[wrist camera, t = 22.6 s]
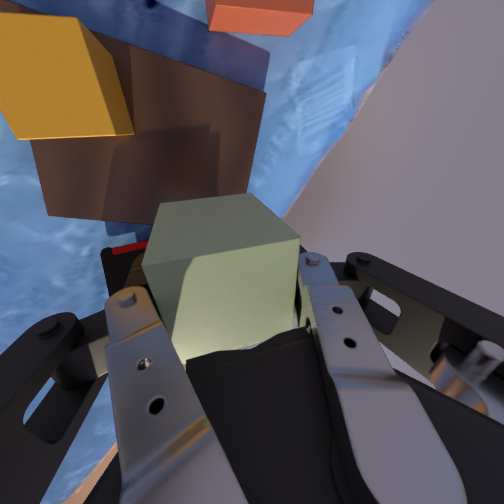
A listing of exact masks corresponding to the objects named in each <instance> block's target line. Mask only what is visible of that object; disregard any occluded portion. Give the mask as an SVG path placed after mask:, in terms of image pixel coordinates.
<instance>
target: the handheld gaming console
mask: <svg viewBox="0 0 504 504" xmlns="http://www.w3.org/2000/svg"><path fill="white" fill-rule="evenodd" d="M148 241H149V240H147V241H143V242H138V243H133V244H129V245H124V246H119V247H115V248H110V247H107V248H104V249H103V250H102V251H101V253H100V256H101V260H102V265H103V269H104V274H105V278H106V283H107V288H108V292H109V297H111V296H112V295H113V294H115V293H116V292H118V291H120V290H122V289H123V288H124V285H125V283H126V280H127V277H128V275H129V273H130V269H131V268H132V267H131V266H132V264H133V261H134V260H135V259H136V258H137V257H138V256H139V255H140V254H144V253H145V251H146V248H147V245H148Z"/></svg>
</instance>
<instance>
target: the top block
mask: <svg viewBox="0 0 504 504" xmlns="http://www.w3.org/2000/svg"><path fill="white" fill-rule="evenodd" d="M0 110H1V112H2V113H3V115H4V117H5V119H6V120H7V122H8V124H9V126H10V128H11V129H12V131H13V133H14V135H15V137H16V138H17V139H18V140H31V139H53V138H75V137H97V136H118V135H134V134H135V133H134V129H133V126H132V123H131V119H130V116H129V112H128V109H127V105H126V102H125V99H124V95H123V92H122V88H121V85H120V81H119V78H118V74H117V71H116V68H115V64H114V61H113V57H112V55H111V54H110V53H109V52H108V51H107V50H106V48H105V47H104V46H103V45H102V44H101V43H100V42H99V41H98V40H97V39H96V37H95V36H94V35H93V34H92V33H91V32H90V31H89V30H88V29H87V28H86V27H85V25H84V24H83V23H82V22H81V21H80V20H79V19H78V18H77V17H70V16H56V15H42V14H28V13H13V12H0Z"/></svg>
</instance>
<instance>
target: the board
mask: <svg viewBox="0 0 504 504" xmlns="http://www.w3.org/2000/svg"><path fill="white" fill-rule="evenodd" d="M0 12H13V13H28V14H42V15H48V14H45V13H42V12H40V11H37V10H34V9H31V8H29V7H26V6H23V5H20V4H17V3H15V2H12V1H9V0H0ZM88 30H89V31H90V32H91V33H92V34H93V35H94V36H95V37H96V39H97V40H98V41H99V42H100V43H101V44H102V45H103V46H104V47H105V48H106V50H107V51H108V52H109V53H110V54H111V55H112V57H113V61H114V64H115V68H116V71H117V74H118V78H119V81H120V85H121V88H122V92H123V95H124V99H125V102H126V105H127V109H128V112H129V116H130V119H131V123H132V126H133V129H134V133H135V134H134V135H118V136H97V137H75V138H53V139H31V140H30V142H31V146H32V150H33V154H34V159H35V163H36V167H37V171H38V175H39V180H40V184H41V188H42V192H43V196H44V200H45V205H46V209H47V213H48V216H55V217H67V218H78V219H89V220H101V221H112V222H123V223H135V224H146V225H154V222H155V218H156V215H157V212H158V209H159V205H160V204H161V203H167V202H176V201H185V200H193V199H202V198H210V197H219V196H228V195H236V194H245V193H246V192H247V187H248V182H249V177H250V172H251V167H252V163H253V158H254V153H255V148H256V143H257V138H258V133H259V128H260V123H261V118H262V113H263V108H264V103H265V98H266V93H265V92H262V91H260V90H257V89H254V88H251V87H248V86H246V85H243V84H240V83H237V82H234V81H232V80H229V79H226V78H223V77H221V76H218V75H215V74H212V73H209V72H207V71H204V70H201V69H198V68H196V67H193V66H190V65H187V64H184V63H182V62H179V61H176V60H173V59H170V58H168V57H165V56H162V55H159V54H157V53H154V52H151V51H148V50H145V49H143V48H140V47H137V46H134V45H132V44H129V43H126V42H123V41H120V40H118V39H115V38H112V37H109V36H106V35H104V34H101V33H98V32H95V31H93V30H90V29H88Z"/></svg>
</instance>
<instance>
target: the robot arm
mask: <svg viewBox="0 0 504 504" xmlns="http://www.w3.org/2000/svg"><path fill="white" fill-rule="evenodd" d="M144 254H145V253H144ZM144 254H140V255H139V256H138V257H137V258H136V259H135V260H134V261H133V264H132V266H131V267H132V268H131V269H130V273H129V275H128V277H127V280H126V283H125V285H124V288H123V289H122V290H120V291H118V292H116V293H115V294H113V295H112V296H111V297H110V298H109V299H108V300H107V301H106V303H105V309H104V310H102V311H100V312H98V313H95V314H93V315H90V316H88V317H85V318H83V319H80V320H78V318H77V317H76V315H75V314H73V313H70V312H64V313H58V314H55V315H52V316H49V317H47V318H45V319H43V320H41V321H39V322H37V323H36V324H34V325H33V326H31V327H30V328H29V329H28V330H26V331H25V332H24V333H23V334H22V335H21V336H20V337H19V338H18V339H17V340H16V341H15V342H14V343H13V344H12V345H10V346H9V347H8V348H7V349H6V350H5V351H4V352H3V353H2V354H1V355H0V504H40V502H41V500H42V498H43V496H44V495H45V493H46V491H47V489H48V487H49V485H50V483H51V481H52V479H53V478H54V476H55V474H56V472H57V470H58V468H59V466H60V464H61V463H62V461H63V459H64V457H65V455H66V453H67V451H68V449H69V448H70V446H71V444H72V442H73V440H74V438H75V436H76V434H77V433H78V431H79V429H80V427H81V425H82V423H83V421H84V419H85V418H86V416H87V414H88V412H89V410H90V408H91V406H92V404H93V403H94V401H95V399H96V397H97V395H98V393H99V391H100V389H101V388H102V386H103V384H104V382H105V380H106V378H107V376H108V378H109V386H110V393H111V401H112V408H113V416H114V423H115V431H116V438H117V445H118V452H117V453H116V455H115V456H114V458H113V459H112V461H111V462H110V464H109V465H108V467H107V469H106V470H105V471H104V473H103V474H102V476H101V477H100V479H99V480H98V482H97V484H96V485H95V486H94V488H93V489H92V491H91V492H90V494H89V495H88V497H87V498H86V500H85V501H84V503H83V504H504V317H503V316H501V315H499V314H497V313H494V312H492V311H490V310H488V309H486V308H484V307H482V306H480V305H477V304H475V303H473V302H471V301H469V300H467V299H465V298H462V297H460V296H458V295H456V294H454V293H452V292H450V291H448V290H445V289H443V288H441V287H439V286H437V285H435V284H433V283H430V282H429V281H426V280H424V279H422V278H420V277H418V276H416V275H414V274H412V273H409V272H407V271H405V270H403V269H401V268H399V267H397V266H394V265H392V264H390V263H388V262H386V261H384V260H382V259H379V258H378V257H375V256H373V255H371V254H368V253H363V252H353V253H350V254H348V255H347V258H346V262H329V261H328V259H327V258H326V257H325V256H324V255H322V254H319V253H314V252H307V251H306V250H305V249H304V248H303V247H302V246H301V245H300V250H299V260H298V270H297V281H296V291H295V301H294V318H295V324H296V329H292V330H289V331H285V332H282V333H278V334H276V335H275V336H273V337H271V338H270V339H268V340H266V341H265V342H263V343H261V344H259V345H258V346H256V347H254V348H252V349H244V350H223V351H215V352H212V353H208V354H205V355H201V356H198V357H194V358H191V359H187V360H186V371H185V369H184V367H183V365H182V363H181V361H180V358H179V356H178V354H177V352H176V350H175V348H174V346H173V343H172V341H171V339H170V337H169V335H168V333H167V331H166V328H165V326H164V323H163V320H162V318H161V315H160V313H159V310H158V307H157V305H156V302H155V300H154V297H153V294H152V292H151V289H150V287H149V284H148V281H147V279H146V276H145V274H144V271H143V268H142V266H141V265H142V261H143V258H144ZM373 289H375V290H377V291H378V292H380V293H382V294H383V295H385V296H387V297H388V298H390V299H392V300H393V301H395V302H396V303H397V304H398V305H399V307H400V309H401V314H400V316H399V317H398V316H396V315H395V314H393V313H391V312H390V311H388V310H387V309H385V308H384V307H382V306H381V305H379V304H377V303H376V302H374V301H373V300H371V299H370V297H371V294H372V292H373ZM379 342H381V343H382V344H383V345H384V346H385V347H387V348H388V349H389V350H391V351H392V352H393V353H394V354H396V355H397V356H398V357H399V358H401V359H402V360H403V361H404V362H406V363H407V364H408V365H410V366H411V367H412V368H413V369H415V370H416V371H417V372H419V373H420V374H421V375H422V376H424V377H425V378H426V379H427V380H429V381H430V382H431V383H432V384H433V385H434V386H435V388H436V390H435V389H433V388H431V387H429V386H428V385H426V384H423V383H422V382H420V381H418V380H416V379H414V378H412V377H410V376H408V375H406V374H404V373H402V372H400V371H398V370H396V369H394V368H392V366H391V364H390V362H389V360H388V359H387V357H386V355H385V353H384V351H383V349H382V347H381V345H380V343H379ZM50 377H51V378H52V379H53V380H54V381H55V383H54V385H53V386H52V388H51V389H50V390H49V392H48V393H47V394H46V396H45V397H44V399H43V400H42V401H41V403H40V404H39V406H38V407H37V408H36V410H35V411H34V412H33V414H32V415H31V417H30V418H29V419H28V421H27V422H26V423H25V425H23V417H24V414H25V411H26V409H27V407H28V406H29V404H30V403H31V402H32V400H33V399H34V398H35V396H36V395H37V394H38V392H39V391H40V390H41V389H42V387H43V386H44V385H45V383H46V382H47V381H48V379H49V378H50Z"/></svg>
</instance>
